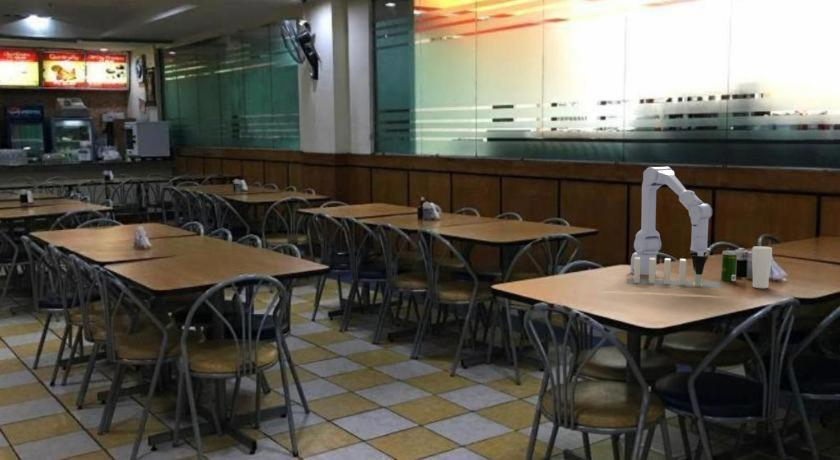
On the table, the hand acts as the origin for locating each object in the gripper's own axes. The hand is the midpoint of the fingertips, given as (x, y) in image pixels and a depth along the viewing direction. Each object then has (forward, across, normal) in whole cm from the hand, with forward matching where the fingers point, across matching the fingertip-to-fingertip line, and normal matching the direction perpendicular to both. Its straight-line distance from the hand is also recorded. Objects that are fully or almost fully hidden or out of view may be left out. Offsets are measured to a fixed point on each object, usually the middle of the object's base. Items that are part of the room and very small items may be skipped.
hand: (697, 272), depth 304 cm
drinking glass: (+5, +3, -23) cm, 23 cm away
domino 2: (+4, 0, +16) cm, 17 cm away
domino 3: (+4, 0, +11) cm, 12 cm away
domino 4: (+4, 0, +6) cm, 7 cm away
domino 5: (+4, 0, 0) cm, 4 cm away
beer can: (+5, +11, -12) cm, 18 cm away
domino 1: (+4, 0, +22) cm, 22 cm away
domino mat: (+5, 0, +9) cm, 10 cm away
